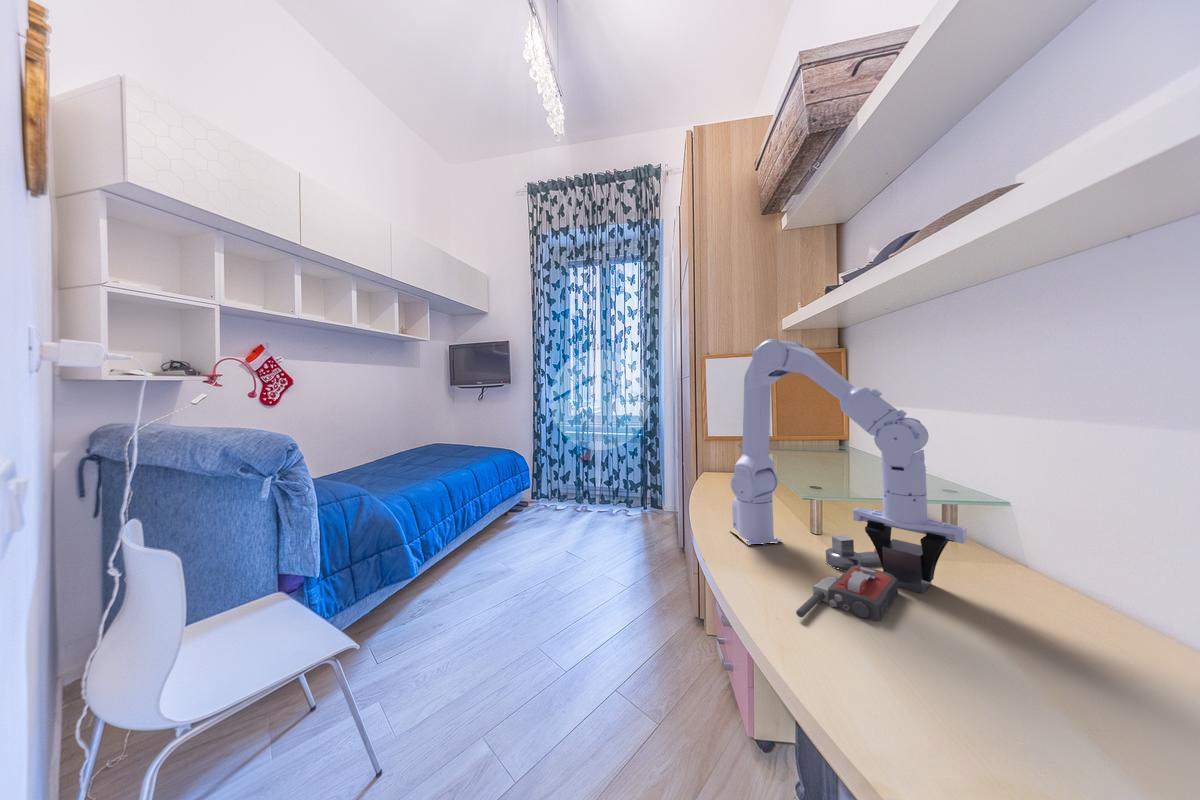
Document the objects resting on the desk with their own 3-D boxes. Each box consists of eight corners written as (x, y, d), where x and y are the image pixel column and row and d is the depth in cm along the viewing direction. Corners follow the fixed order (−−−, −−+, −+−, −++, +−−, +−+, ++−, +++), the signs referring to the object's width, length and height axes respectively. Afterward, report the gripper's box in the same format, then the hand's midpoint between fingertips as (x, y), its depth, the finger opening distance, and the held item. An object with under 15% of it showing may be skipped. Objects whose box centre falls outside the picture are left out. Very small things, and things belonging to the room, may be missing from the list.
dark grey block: (883, 582, 63) (882, 546, 63) (894, 572, 66) (893, 538, 66) (921, 594, 59) (920, 555, 59) (931, 583, 62) (930, 547, 62)
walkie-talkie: (840, 574, 67) (791, 620, 54) (839, 549, 67) (789, 590, 54) (902, 592, 60) (862, 650, 47) (901, 565, 60) (861, 615, 47)
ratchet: (840, 572, 67) (839, 544, 67) (819, 559, 72) (818, 533, 72) (924, 565, 68) (923, 537, 68) (897, 552, 74) (896, 527, 74)
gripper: (970, 495, 59) (973, 581, 59) (863, 480, 70) (866, 552, 70) (958, 504, 54) (961, 597, 55) (847, 487, 66) (850, 563, 66)
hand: (907, 573), depth 62 cm, fingers closed on dark grey block, 5 cm apart
